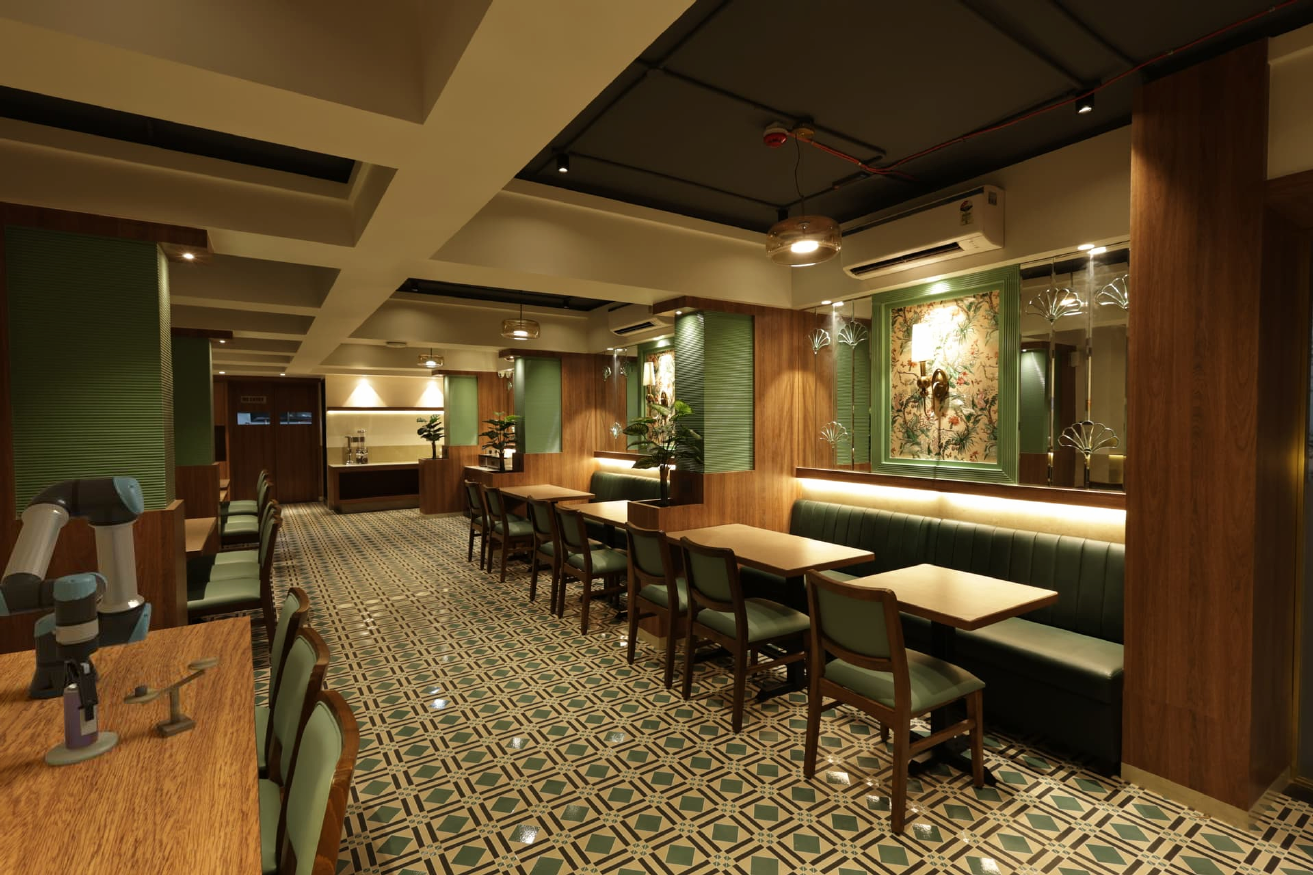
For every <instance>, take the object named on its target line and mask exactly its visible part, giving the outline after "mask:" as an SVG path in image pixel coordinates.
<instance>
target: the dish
mask: <svg viewBox="0 0 1313 875" xmlns="http://www.w3.org/2000/svg"><path fill="white" fill-rule="evenodd" d="M98 735H99V739H98V741H97V742H96V743H95V744H94V745H92V746H91V747H88V748H86V749H82V750H78V751H69V750H67V749H66V748H65V741H64V742H61V743H59V744H57V745H56V746H55V745H54V746H53V747H52V748H50V749H49V750H48V751H47V752H46V754H45V755H44V757H45V758H44V762H45V764H46V765H48V766H55V767H57V766H58V767H60V766H69V765H74V764H78V763H81V762H85V761H87V760H90V759H94V758H97V757H98V756H101V755H102V754H105V753H107V752H108V751H110V750H112V749H113V748H114V747H116V745H117V744H118V742H119V739H118V734H117V733H116V732H112V731H100V732H99V731H98Z"/></svg>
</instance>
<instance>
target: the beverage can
mask: <svg viewBox="0 0 1313 875" xmlns="http://www.w3.org/2000/svg"><path fill="white" fill-rule="evenodd" d="M96 690H97V691H98V688H97V685H96ZM62 699H63V702H62V703H63V721H64V722H63V724H64V726H63V727H64V742H65V748H66V749H67V750H69V751H78V750H82V749H86V748H88V747H91V746H92V745H94V744H95V743H96V742H97V741H98V739H99V735H98V733H99V713H98V704H97V705H96V724H97V731H95V732H91V733H88V734H85V735H81V726H80V710H77V708H78V707H79V706H81V703H80V698H79V694H78V689H77V684H76V683H75V684H72V685H70V686H68V687H66V688H65V689H64V693H63V695H62ZM90 701H92V700H90ZM90 701H88V702H90Z"/></svg>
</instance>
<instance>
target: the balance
mask: <svg viewBox="0 0 1313 875" xmlns="http://www.w3.org/2000/svg"><path fill="white" fill-rule="evenodd" d="M220 660H221V659H220V658H218V657H207V658H201V659H198V660H194V661H192V662H190V663H188V665H187V670H188V671H196V672H194V673H193V674H190V675H189V676H187V677H185V678H182V679H181V680H179V681H177V682H174V684H171V685H169V686H168V687H166V688H164V689H162V690H159V689H157V688H148V685H146V684H143V685H139V686H136V687H135V688H134V692H131V693H129V694H127V695H126V696H124V697H123V698H122V703H123V704H126V705H132V704H133V705H135V704H141V706H143V707H144V706H147V705H149V704H151V703H153V702H154V701H156V700H159V699H160V698H162V697H164V696H165V695H168V697H169V716H170V718H166V719H163V720H159V721H157V722H155V729H156V730H158V732H160V733H161V734H162V735H163V736H165V737H166V738H169V737H172V736H174V735H178V734H179V733H183V732H186V731H188V730H192V729H194V728H195V727H196V721H195V720H193V719H192V718H190V717H189V716H187V715H186V714H185V713H181V709H180V687H182V686H184V685H186V684H188V683H190V682H192V681H194V680H196V679H198V678H199V677H201V676H203V675H205V674H206V672H205V671H206V670H207V669H210V668H214V667H216V666H218V665H219V664H220Z"/></svg>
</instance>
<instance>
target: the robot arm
mask: <svg viewBox="0 0 1313 875" xmlns="http://www.w3.org/2000/svg"><path fill="white" fill-rule="evenodd" d="M144 501H145V499H144V494H143V491H142V488H141V484H140V483H139V480H137V479H136V478H135V477H129V476H126V477H125V476H123V477H120V476H112V477H95V478H78V479H77V478H74V479H73V478H72V479H65V480H62V481H59V482H56V483H53V484H52V485H50V486H48V487H45V488H44V489H43V490H41V491H39V492H38V493H37V494H35V495H34V496H33V497H32V498H31V499H30V500H29V501H28V503H27V504H26V505H25V507H24V509H23V511H22V514H21V522H22V523H23V525H22V526H21V527H22V528H21V530H20V533H19V535H18V538H17V540H16V543H15V544H14V547H13V550H12V553H11V555H10V558H9V561H8V563H7V565H6V568H5V570H4V572H3V573H4V574H3V576H2V577H1V581H0V617H5V616H7V617H8V616H14V615H18V614H19V615H21V614H27V613H34V612H42V611H50V610H54V612H53V613H50V614H47V615H44V616H43V617H41V618H39V619H38V620H37V621H36V622H35V624H34V634H33V637H34V649H35V662H36V663H35V665H36V666H35V667H36V668H35V671H34V673H33V676H32V679H31V681H30V683H29V687H28V695H29V698H32V699H49V698H50V699H51V698H56V697H57V698H58V697H61V696H62V697H63V693H64V689H65V688H66V687H68V686H70V685H72V684H75V683H76V684H77V689H78V694H79V698H80V703H81V706H79V707H78V708H77V710H80V726H81V735H85V734H88V733H91V732H95V731H97V724H96V705H97V706H98V705H99V703H100V702H99V698H98V689H97V690H96V686H97V685H96V683H97V682H99V672H98V670H97V669H96V667H95V664H94V663H93V660H92V659H91V655H93V654H95V653H96V652H97V653H98V651H99V649H103V648H109V647H116V646H122V645H123V646H124V645H129V644H133V643H138V642H142V641H143V640H145V639H146V638H147V635H148V633H149V629H150V628H149V627H150V623H151V622H150V621H151V617H152V615H151V614H152V604H151V603H149V602H145V598H144V597H143V596H141V595H140V594H138V584H137V583H138V581H137V571H136V570H137V568H136V556H135V544H134V531H133V524H134V523H136V521H138V519H139V515H140V514H143V513H144V512H145V511H144V510H145V503H144ZM73 519H86V523H87V525H88V526H89V527H91V528H93V529H94V535H95V545H96V555H97V568H98V569H97V570H98V572H94V571H93V572H91V571H90V572H84V573H78V574H69V575H65V576H63V577H60V578H52V579H50V578H49V579H45V578H46V573H47V571H48V568H49V565H50V562H51V559H52V556H53V552H54V549H55V547H56V544H57V540H58V538H59V534H60V532H61V528H62V527H64V526H65V525H67V524H68V522H69V520H73ZM99 600H100V601H99ZM98 601H99V602H98ZM90 700H92V701H90ZM88 701H90V702H88Z"/></svg>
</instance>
